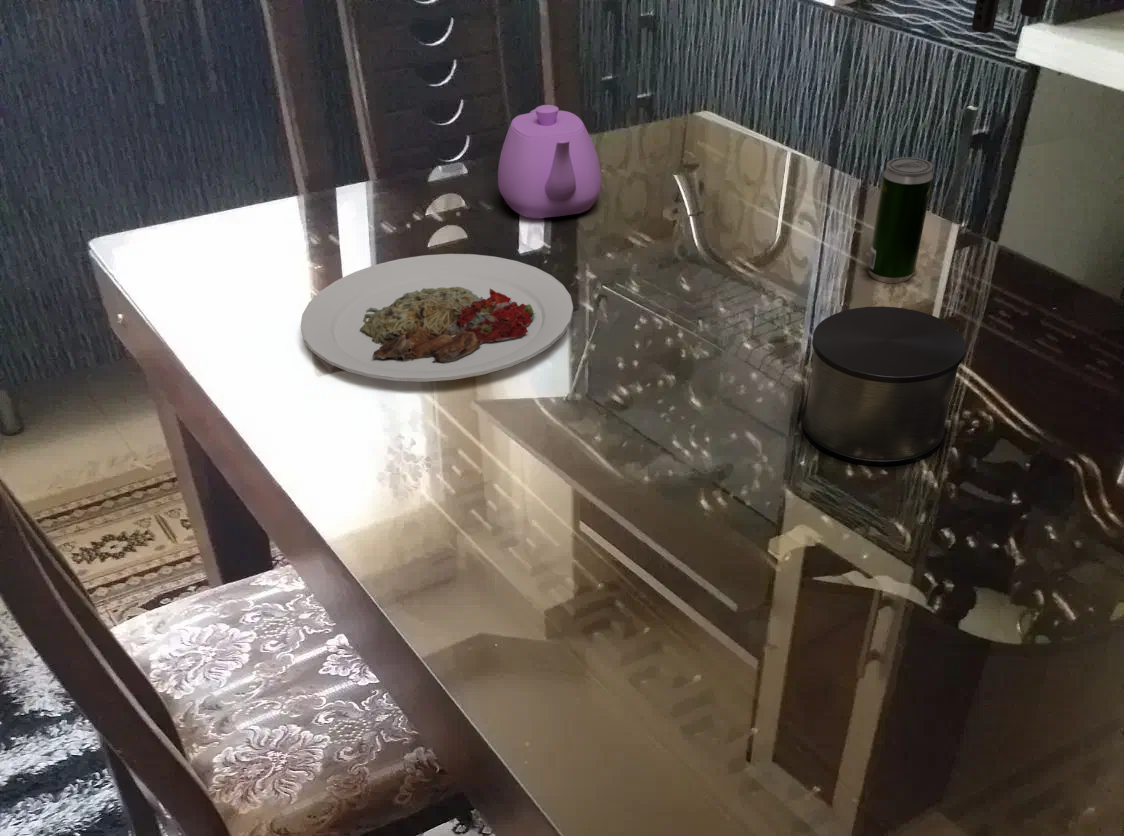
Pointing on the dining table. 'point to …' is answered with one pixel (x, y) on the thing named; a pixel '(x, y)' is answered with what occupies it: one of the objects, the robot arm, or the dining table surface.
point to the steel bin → (881, 385)
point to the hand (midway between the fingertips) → (1006, 23)
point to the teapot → (548, 165)
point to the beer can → (900, 219)
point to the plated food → (436, 317)
